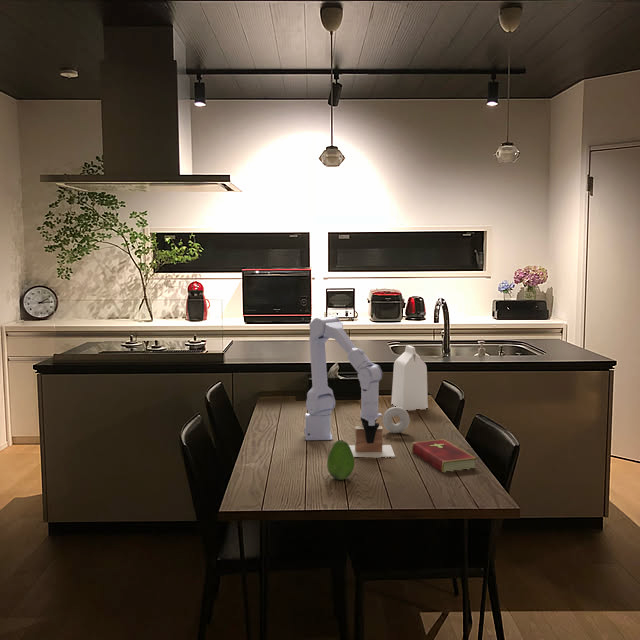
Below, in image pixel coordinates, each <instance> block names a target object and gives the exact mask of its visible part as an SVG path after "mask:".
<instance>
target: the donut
mask: <svg viewBox="0 0 640 640" xmlns="http://www.w3.org/2000/svg"><path fill="white" fill-rule="evenodd" d="M394 417H399V418H400V421H399V422H398V423H394V422H393V418H394ZM410 421H411V419H410V415H409V413H408V411H406V410H405V409H403V408H401V407H395V406H392V407H390V408H388V409H386V410H385V412H384V414H383V415H382V424H383V427H384V428H385V429H386V430H387V431H388V432H389V433H391V434H392V433H393V434H398V433H402V432H404V431H406V429H407V428H408V427H409V425H410Z"/></svg>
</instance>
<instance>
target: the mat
mask: <svg viewBox="0 0 640 640" xmlns="http://www.w3.org/2000/svg"><path fill="white" fill-rule="evenodd" d="M348 445H349V447H350V449H351V451H352V454H353V457H375V458H374V459H382V458H381V457H385V458H387V457H388V458H387V459H389V457H391V458H393V459H395V458H396V455H395V454H396V453H395V452H394V450H393V447H392V445H391V444H383V447H382V452H356V451H355V444H348ZM391 458H390V459H391Z"/></svg>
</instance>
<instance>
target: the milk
mask: <svg viewBox="0 0 640 640" xmlns="http://www.w3.org/2000/svg"><path fill="white" fill-rule="evenodd" d="M427 368H428V367H427V364H426V363H425V361H424V360H422V358H421V357H420V355H419V354H418V353H417V352H416V347H414V346H412V345H408V344H406V345H405V349H404V352H402V353H401V354H400V356H398V357H397V358H396V359H395V361H394V363H393V373H392V374H393V375H392V389H391V403H390V405H392V404H393V405H392V406H393V407H395V406H396V407H401V408H403V409H405V410H408V411H417V410H416V409H420V410H427V409H426V408H428V409H429V407H428V405H429V403H428V401H429V399H428V369H427Z"/></svg>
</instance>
